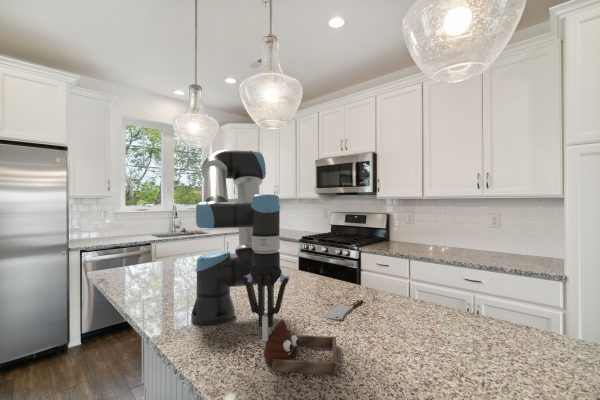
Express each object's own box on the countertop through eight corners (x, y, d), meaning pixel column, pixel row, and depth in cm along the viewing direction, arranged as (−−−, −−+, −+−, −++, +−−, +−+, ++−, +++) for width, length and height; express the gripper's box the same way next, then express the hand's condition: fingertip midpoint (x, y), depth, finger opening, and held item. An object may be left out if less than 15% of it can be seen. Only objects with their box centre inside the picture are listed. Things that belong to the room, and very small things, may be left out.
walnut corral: (272, 371, 72) (272, 360, 72) (283, 342, 86) (283, 334, 86) (336, 375, 70) (336, 364, 70) (336, 345, 84) (336, 336, 84)
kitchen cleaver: (346, 297, 126) (368, 300, 120) (346, 299, 126) (368, 302, 120) (315, 315, 107) (339, 320, 101) (315, 318, 107) (340, 323, 101)
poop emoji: (279, 344, 85) (279, 311, 85) (304, 351, 81) (304, 317, 81) (256, 359, 77) (256, 324, 77) (283, 369, 72) (283, 331, 72)
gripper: (238, 253, 77) (238, 343, 76) (287, 253, 75) (287, 346, 74) (246, 248, 84) (247, 331, 84) (291, 249, 82) (292, 333, 82)
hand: (266, 338), depth 79 cm, fingers closed
